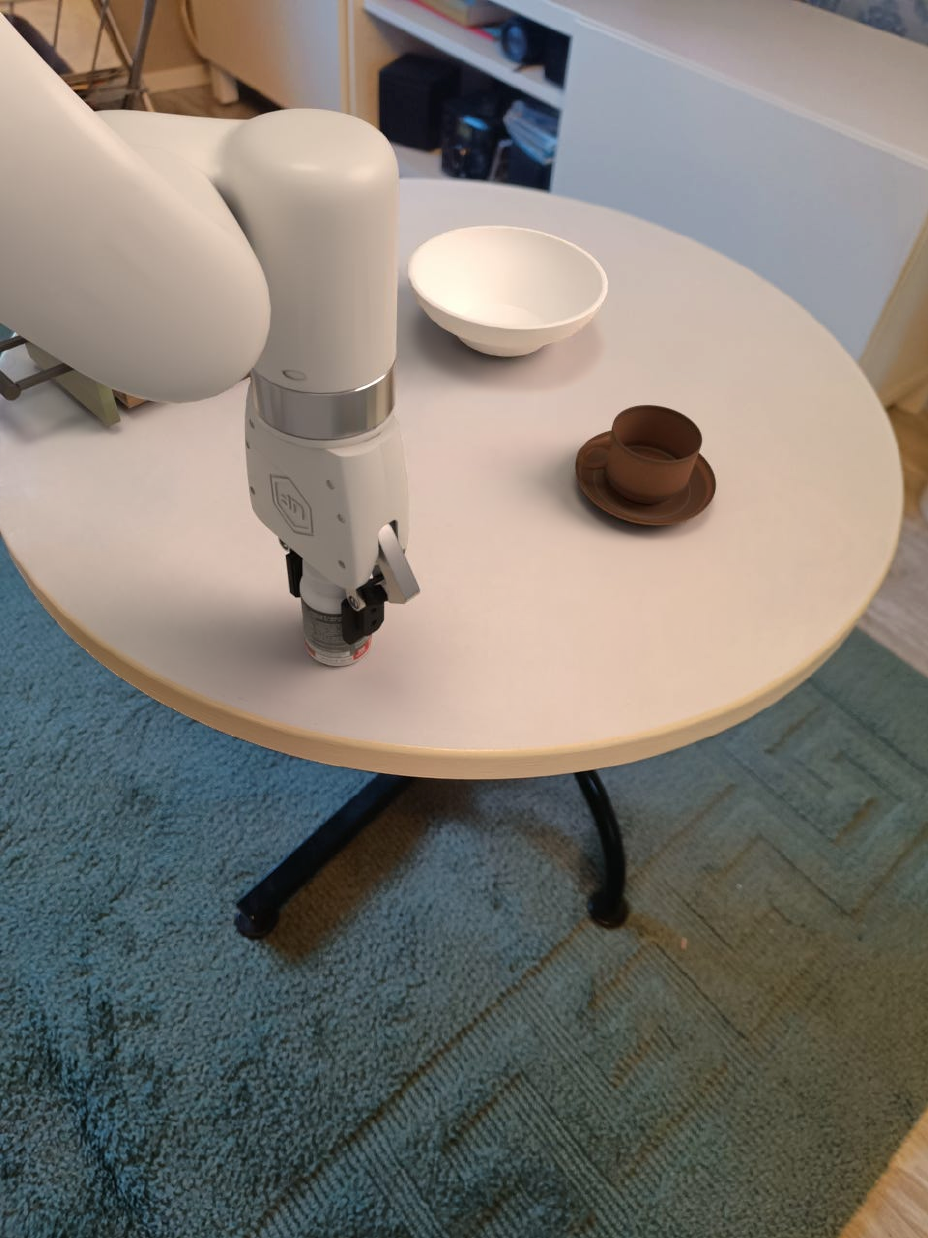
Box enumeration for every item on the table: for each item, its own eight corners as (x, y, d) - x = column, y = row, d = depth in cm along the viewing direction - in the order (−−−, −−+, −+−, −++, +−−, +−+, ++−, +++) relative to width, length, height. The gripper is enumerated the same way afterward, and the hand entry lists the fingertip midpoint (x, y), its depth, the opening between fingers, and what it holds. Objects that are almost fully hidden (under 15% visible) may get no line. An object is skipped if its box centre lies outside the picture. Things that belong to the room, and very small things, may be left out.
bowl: (629, 332, 91) (644, 270, 86) (528, 418, 80) (537, 354, 75) (478, 267, 98) (483, 206, 93) (366, 339, 87) (365, 275, 82)
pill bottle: (368, 670, 61) (368, 590, 54) (300, 666, 60) (292, 585, 54) (374, 618, 64) (374, 537, 57) (309, 614, 63) (302, 532, 57)
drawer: (40, 457, 71) (13, 387, 66) (-37, 383, 77) (-68, 313, 72) (247, 364, 81) (238, 297, 76) (166, 304, 87) (152, 238, 82)
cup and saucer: (616, 553, 70) (633, 496, 65) (547, 462, 77) (557, 404, 72) (737, 517, 74) (761, 461, 69) (661, 433, 80) (678, 376, 76)
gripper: (169, 336, 47) (216, 567, 61) (379, 495, 40) (379, 716, 54) (280, 291, 51) (301, 519, 65) (490, 430, 44) (463, 652, 58)
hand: (336, 607), depth 59 cm, fingers closed on pill bottle, 4 cm apart
